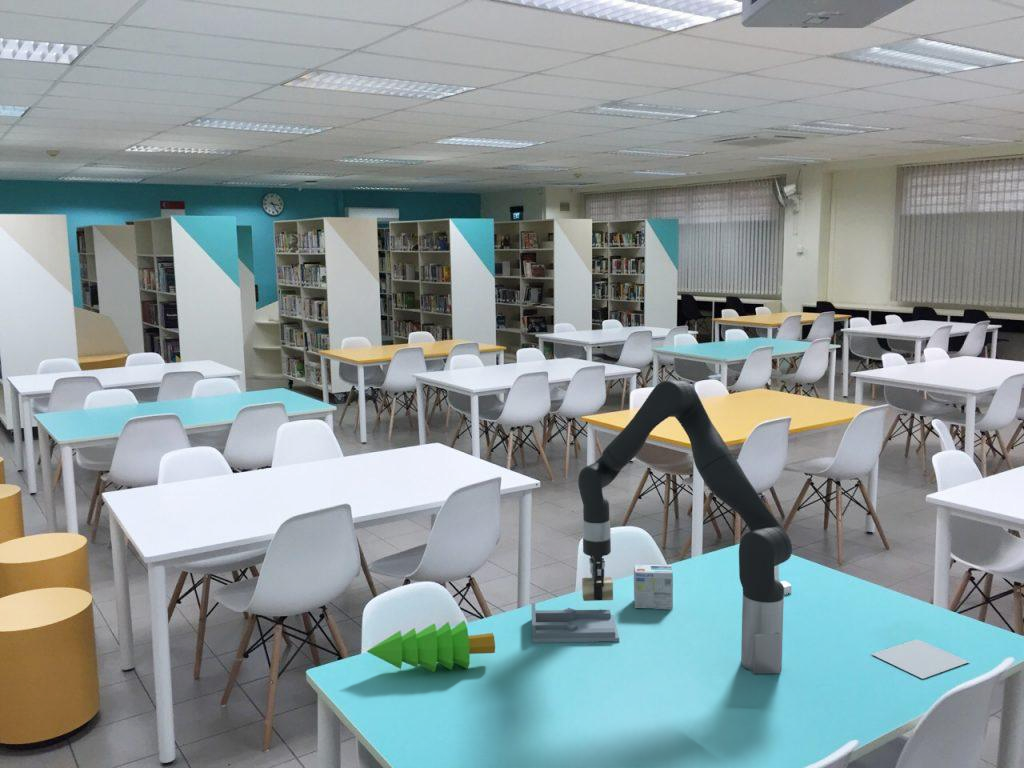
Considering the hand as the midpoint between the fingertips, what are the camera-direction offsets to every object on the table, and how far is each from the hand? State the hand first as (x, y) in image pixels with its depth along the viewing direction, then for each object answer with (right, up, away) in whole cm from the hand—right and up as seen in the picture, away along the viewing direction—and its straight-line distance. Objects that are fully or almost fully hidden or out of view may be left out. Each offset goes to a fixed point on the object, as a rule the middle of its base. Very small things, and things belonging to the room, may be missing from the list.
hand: (597, 596), depth 228 cm
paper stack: (+75, -7, -23) cm, 79 cm away
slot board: (-7, -6, -11) cm, 14 cm away
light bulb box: (+16, -4, +5) cm, 17 cm away
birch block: (0, 0, 0) cm, 0 cm away
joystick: (+51, -2, +13) cm, 53 cm away
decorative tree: (-42, -10, -30) cm, 53 cm away
